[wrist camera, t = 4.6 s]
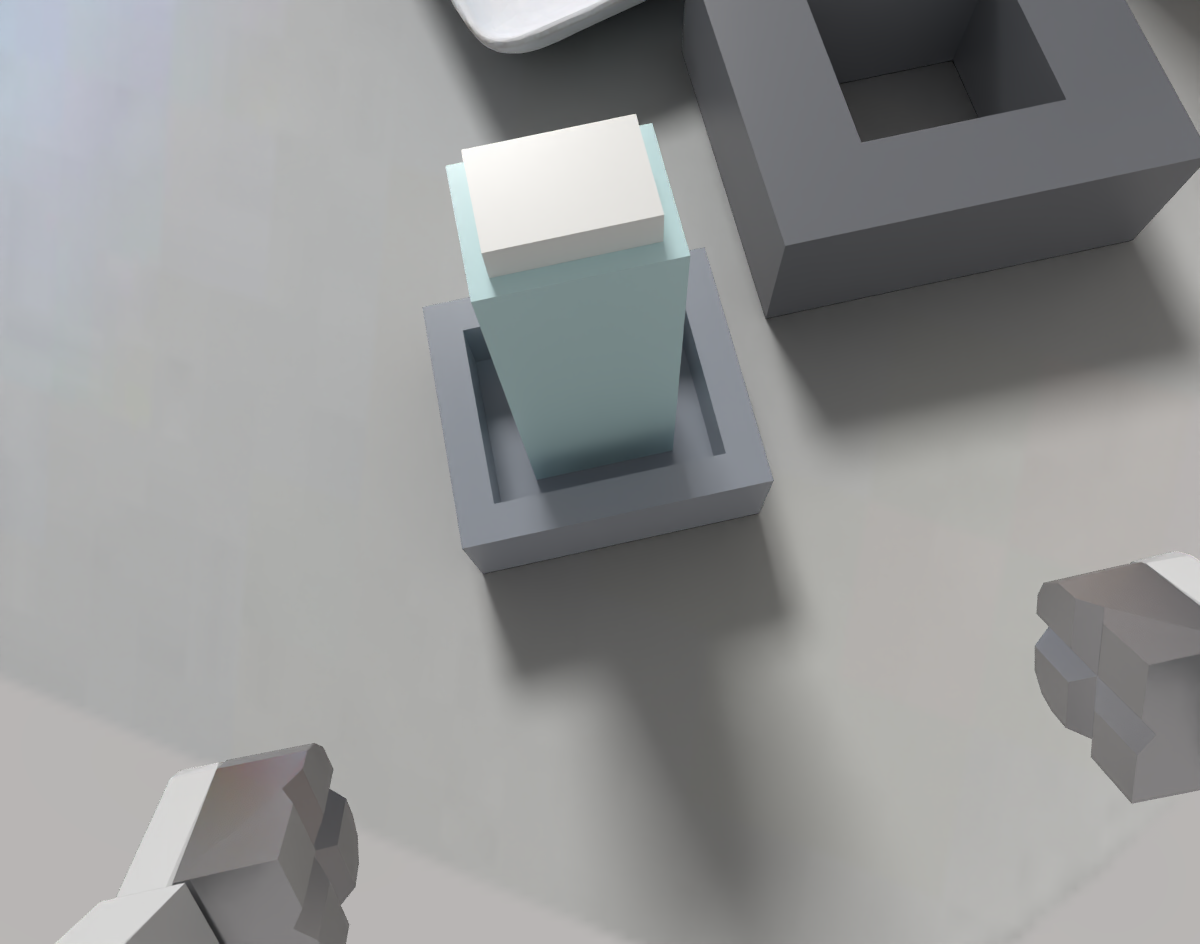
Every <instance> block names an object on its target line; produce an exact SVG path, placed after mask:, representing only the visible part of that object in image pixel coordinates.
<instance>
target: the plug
mask: <svg viewBox="0 0 1200 944" xmlns="http://www.w3.org/2000/svg"><path fill="white" fill-rule="evenodd" d="M461 151H462V157H463V162H462V163H457V164H452V165H447V166H446V171H447V176H448V182H449V187H450V193H451V198H452V203H453V209H454V214H455V219H456V225H457V230H458V235H459V241H460V246H461V252H462V257H463V262H464V268H465V273H466V278H467V284H468V289H469V295H470V300H471V304H472V306H473V309H474V312H475V315H476V317H477V320H478V323H479V325H480V328H481V331H482V334H483V336H484V339H485V342H486V344H487V347H488V350H489V353H490V355H491V358H492V361H493V363H494V366H495V369H496V372H497V374H498V377H499V380H500V382H501V385H502V388H503V390H504V393H505V396H506V399H507V401H508V404H509V407H510V409H511V412H512V415H513V418H514V420H515V423H516V426H517V428H518V431H519V434H520V437H521V439H522V442H523V445H524V447H525V450H526V453H527V456H528V458H529V461H530V464H531V466H532V469H533V472H534V475H535V477H536V480H539V479H544V478H548V477H553V476H558V475H562V474H567V473H571V472H576V471H581V470H585V469H590V468H594V467H599V466H604V465H608V464H613V463H618V462H622V461H627V460H631V459H636V458H641V457H645V456H650V455H654V454H659V453H664V452H668V451H673V442H674V431H675V420H676V409H677V398H678V387H679V376H680V365H681V354H682V342H683V331H684V320H685V309H686V298H687V287H688V276H689V265H690V253H689V249H688V246H687V242H686V239H685V235H684V232H683V228H682V225H681V221H680V218H679V214H678V211H677V208H676V204H675V201H674V197H673V194H672V190H671V187H670V183H669V180H668V176H667V173H666V169H665V166H664V162H663V159H662V156H661V152H660V149H659V145H658V142H657V138H656V135H655V131H654V128H653V124H652V123H649V124H645V125H640V126H639V123H638V119H637V116H636V114H632V115H627V116H622V117H617V118H613V119H608V120H603V121H598V122H593V123H589V124H584V125H579V126H574V127H569V128H564V129H560V130H555V131H550V132H545V133H540V134H536V135H531V136H526V137H521V138H516V139H511V140H507V141H502V142H497V143H492V144H487V145H483V146H478V147H473V148H468V149H463V150H461Z"/></svg>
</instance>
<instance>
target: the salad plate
mask: <svg viewBox="0 0 1200 944" xmlns="http://www.w3.org/2000/svg"><path fill="white" fill-rule="evenodd" d="M644 1H646V0H451V2H452V4H453V5H454V7H455V9H456V10H457V12H458V13H459V15H460V16H461V18H462V19H463V21H464V22H465V24H466V26H467V27H468V29H469V30H470V31H471V32H472V33H473V34H474V36H475V37H476V38H477V39H478V40H479V41H480V42H481V43H482V44H483V45H485V46H486V47H488V48H489V49H492V50H494V51H497V52H499V53H508V54H509V53H525V52H530V51H534V50H538V49H541V48H543V47H546V46H549V45H551V44H554V43H556V42H558V41H560V40H562V39H565V38H567V37H569V36H571V35H573V34H575V33H577V32H579V31H581V30H583V29H586V28H588V27H590V26H592V25H594V24H596V23H598V22H600V21H603V20H605V19H607V18H609V17H611V16H614V15H616V14H618V13H620V12H622V11H625V10H627V9H629V8H631V7H633V6H635V5H638V4H640V3H642V2H644Z"/></svg>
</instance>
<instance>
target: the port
mask: <svg viewBox="0 0 1200 944" xmlns="http://www.w3.org/2000/svg"><path fill="white" fill-rule="evenodd" d="M682 53H683V56H684V60H685V63H686V66H687V69H688V72H689V76H690V79H691V82H692V85H693V88H694V91H695V95H696V98H697V101H698V104H699V107H700V111H701V114H702V117H703V120H704V123H705V127H706V130H707V133H708V136H709V139H710V143H711V146H712V149H713V152H714V155H715V158H716V162H717V165H718V168H719V171H720V174H721V178H722V181H723V184H724V187H725V190H726V194H727V197H728V200H729V203H730V206H731V209H732V213H733V216H734V219H735V222H736V225H737V229H738V232H739V235H740V238H741V241H742V245H743V248H744V251H745V254H746V257H747V260H748V264H749V267H750V270H751V273H752V276H753V280H754V283H755V286H756V289H757V292H758V296H759V299H760V302H761V305H762V308H763V311H764V315H765V318H770V317H775V316H780V315H784V314H789V313H794V312H798V311H803V310H808V309H812V308H817V307H822V306H826V305H831V304H836V303H840V302H845V301H850V300H854V299H859V298H864V297H868V296H873V295H878V294H882V293H887V292H892V291H896V290H901V289H906V288H910V287H915V286H920V285H924V284H929V283H934V282H938V281H943V280H948V279H952V278H957V277H962V276H966V275H971V274H976V273H981V272H985V271H990V270H995V269H999V268H1004V267H1009V266H1013V265H1018V264H1023V263H1027V262H1032V261H1037V260H1041V259H1046V258H1051V257H1055V256H1060V255H1065V254H1069V253H1074V252H1079V251H1083V250H1088V249H1093V248H1097V247H1102V246H1107V245H1111V244H1116V243H1121V242H1125V241H1130V240H1133V239H1134V238H1135V237H1136V236H1137V235H1138V234H1139V233H1140V232H1141V230H1142V229H1143V228H1144V227H1145V226H1146V225H1147V224H1148V223H1149V222H1150V221H1151V220H1152V219H1153V217H1154V216H1155V215H1156V214H1157V213H1158V212H1159V211H1160V210H1161V209H1162V208H1163V207H1164V205H1165V204H1166V203H1167V202H1168V201H1169V200H1170V199H1171V198H1172V197H1173V196H1174V195H1175V194H1176V192H1177V191H1178V190H1179V189H1180V188H1181V187H1182V186H1183V185H1184V184H1185V183H1186V182H1187V181H1188V179H1189V178H1190V177H1191V176H1192V175H1193V174H1194V173H1195V172H1196V171H1197V170H1198V169H1199V168H1200V136H1199V134H1198V132H1197V130H1196V129H1195V127H1194V125H1193V123H1192V121H1191V119H1190V118H1189V116H1188V114H1187V112H1186V110H1185V108H1184V107H1183V105H1182V103H1181V101H1180V99H1179V97H1178V96H1177V94H1176V92H1175V90H1174V88H1173V86H1172V85H1171V83H1170V81H1169V79H1168V77H1167V75H1166V74H1165V72H1164V70H1163V68H1162V66H1161V64H1160V63H1159V61H1158V59H1157V57H1156V55H1155V54H1154V52H1153V50H1152V48H1151V46H1150V44H1149V43H1148V41H1147V39H1146V37H1145V35H1144V33H1143V32H1142V30H1141V28H1140V26H1139V24H1138V22H1137V21H1136V19H1135V17H1134V15H1133V13H1132V11H1131V10H1130V8H1129V6H1128V4H1127V2H1126V0H685V5H684V24H683V42H682ZM951 60H953V61H954V64H955V66H956V68H957V70H958V73H959V75H960V77H961V79H962V82H963V84H964V86H965V88H966V91H967V93H968V95H969V97H970V100H971V102H972V104H973V106H974V109H975V111H976V113H977V115H978V118H976V119H971V120H966V121H962V122H957V123H952V124H947V125H942V126H938V127H933V128H928V129H923V130H919V131H914V132H909V133H904V134H900V135H895V136H890V137H885V138H880V139H876V140H871V141H866V142H861V140H860V137H859V135H858V132H857V130H856V127H855V124H854V122H853V119H852V117H851V114H850V111H849V109H848V106H847V104H846V101H845V98H844V96H843V93H842V91H841V88H840V85H839V84H840V83H845V82H849V81H854V80H859V79H864V78H869V77H874V76H878V75H883V74H888V73H893V72H898V71H902V70H907V69H912V68H917V67H922V66H926V65H931V64H936V63H941V62H946V61H951Z"/></svg>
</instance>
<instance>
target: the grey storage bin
mask: <svg viewBox="0 0 1200 944" xmlns="http://www.w3.org/2000/svg"><path fill="white" fill-rule="evenodd" d="M689 253H690V265H689V276H688V287H687V298H686V309H685V320H684V331H683V342H682V354H681V365H680V376H679V387H678V398H677V409H676V420H675V431H674V442H673V451H668V452H664V453H659V454H654V455H650V456H645V457H641V458H636V459H631V460H627V461H622V462H618V463H613V464H608V465H604V466H599V467H594V468H590V469H585V470H581V471H576V472H571V473H567V474H562V475H558V476H553V477H548V478H544V479H539V480H536V477H535V475H534V472H533V469H532V466H531V464H530V461H529V458H528V456H527V453H526V450H525V447H524V445H523V442H522V439H521V437H520V434H519V431H518V428H517V426H516V423H515V420H514V418H513V415H512V412H511V409H510V407H509V404H508V401H507V399H506V396H505V393H504V390H503V388H502V385H501V382H500V380H499V377H498V374H497V372H496V369H495V366H494V363H493V361H492V358H491V355H490V353H489V350H488V347H487V344H486V342H485V339H484V336H483V334H482V331H481V328H480V325H479V323H478V320H477V317H476V315H475V312H474V309H473V306H472V304H471V300H470V297H468V298H463V299H458V300H454V301H449V302H444V303H439V304H435V305H430V306H425V307H423V313H424V319H425V325H426V331H427V337H428V343H429V349H430V355H431V361H432V368H433V374H434V380H435V386H436V392H437V398H438V404H439V410H440V416H441V422H442V428H443V434H444V440H445V447H446V453H447V459H448V465H449V471H450V477H451V483H452V489H453V495H454V501H455V507H456V513H457V519H458V526H459V532H460V538H461V544H462V549H463V550H464V551H465V553H466V554H467V555H468V556H469V557H470V559H471V560H472V561H473V562H474V564H475V565H476V566H477V567H478V568H479V570H480V571H481V572H482V573H483V574H484V573H489V572H493V571H498V570H502V569H507V568H511V567H516V566H520V565H525V564H529V563H534V562H539V561H543V560H548V559H552V558H557V557H561V556H566V555H570V554H575V553H580V552H584V551H589V550H593V549H598V548H602V547H607V546H611V545H616V544H621V543H625V542H630V541H634V540H639V539H643V538H648V537H652V536H657V535H662V534H666V533H671V532H675V531H680V530H684V529H689V528H693V527H698V526H703V525H707V524H712V523H716V522H721V521H725V520H730V519H734V518H739V517H744V516H748V515H753V514H757V513H759V512H760V510H761V508H762V505H763V503H764V501H765V499H766V496H767V494H768V492H769V490H770V487H771V485H772V483H773V481H774V480H773V477H772V474H771V470H770V467H769V464H768V460H767V457H766V453H765V450H764V447H763V443H762V440H761V436H760V433H759V430H758V426H757V423H756V420H755V416H754V413H753V409H752V406H751V403H750V399H749V396H748V393H747V389H746V386H745V382H744V379H743V376H742V372H741V369H740V366H739V362H738V359H737V355H736V352H735V349H734V345H733V342H732V339H731V335H730V332H729V328H728V325H727V322H726V318H725V315H724V312H723V308H722V305H721V301H720V298H719V295H718V291H717V288H716V285H715V281H714V278H713V274H712V271H711V268H710V264H709V261H708V257H707V254H706V251H705V247H704V248H699V249H694V250H690V251H689Z"/></svg>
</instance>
